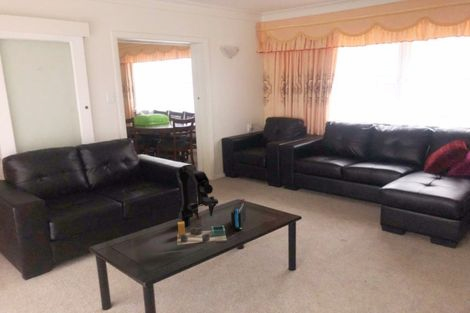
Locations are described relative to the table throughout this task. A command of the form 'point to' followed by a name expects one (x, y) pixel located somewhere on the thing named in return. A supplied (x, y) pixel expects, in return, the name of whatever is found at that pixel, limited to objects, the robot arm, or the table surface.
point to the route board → (199, 238)
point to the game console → (238, 215)
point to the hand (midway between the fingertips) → (204, 217)
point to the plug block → (181, 228)
